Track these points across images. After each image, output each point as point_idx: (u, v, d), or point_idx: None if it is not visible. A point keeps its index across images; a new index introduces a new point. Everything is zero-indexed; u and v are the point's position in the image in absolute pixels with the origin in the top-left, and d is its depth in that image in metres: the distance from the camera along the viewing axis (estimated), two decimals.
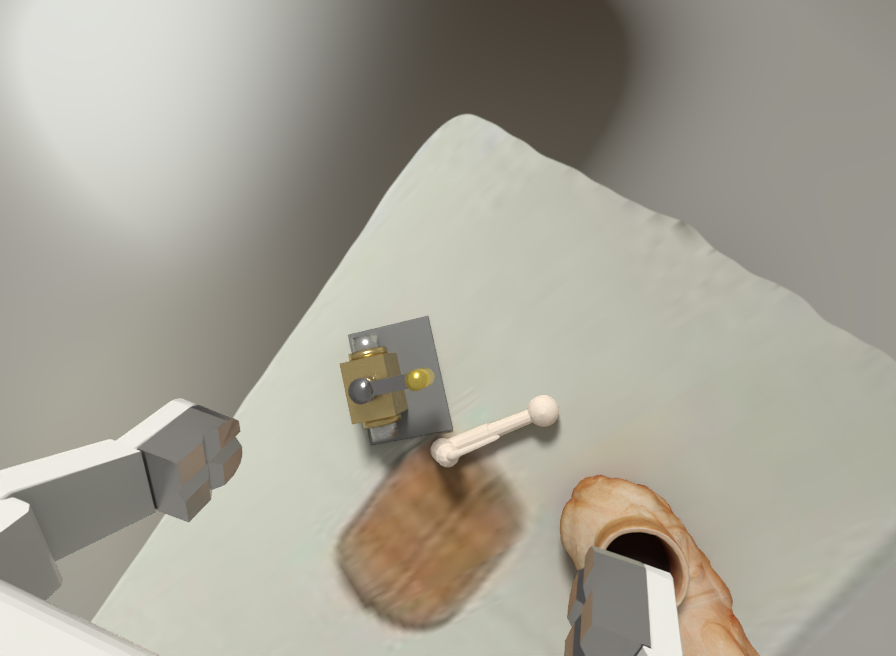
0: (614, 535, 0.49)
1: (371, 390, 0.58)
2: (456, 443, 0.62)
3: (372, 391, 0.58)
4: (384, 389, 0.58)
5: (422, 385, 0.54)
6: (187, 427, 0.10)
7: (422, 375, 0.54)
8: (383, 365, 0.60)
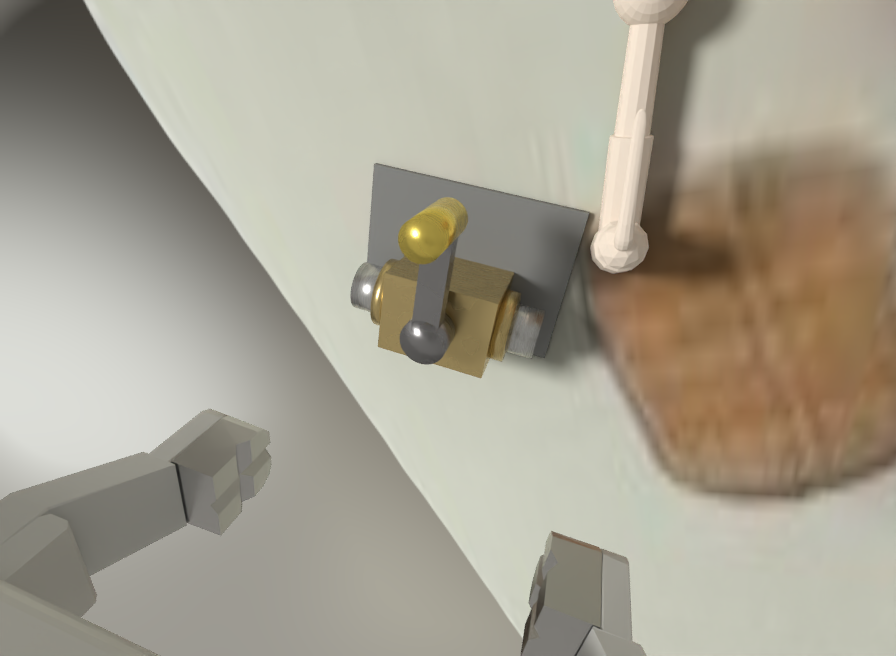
0: None
1: (427, 325, 0.30)
2: (615, 217, 0.30)
3: (429, 325, 0.30)
4: (435, 303, 0.29)
5: (435, 230, 0.23)
6: (219, 439, 0.10)
7: (415, 220, 0.24)
8: (404, 281, 0.32)
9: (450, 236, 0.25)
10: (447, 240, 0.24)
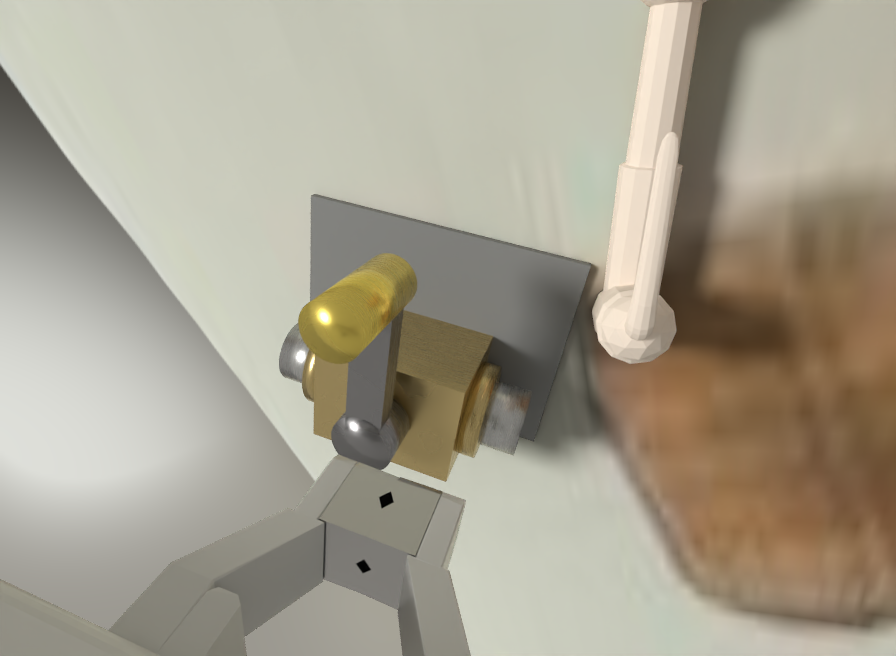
0: None
1: (366, 423, 0.22)
2: (626, 277, 0.21)
3: (369, 423, 0.22)
4: (374, 396, 0.21)
5: (350, 319, 0.15)
6: (360, 491, 0.09)
7: (319, 303, 0.15)
8: None
9: (380, 320, 0.17)
10: (373, 328, 0.16)
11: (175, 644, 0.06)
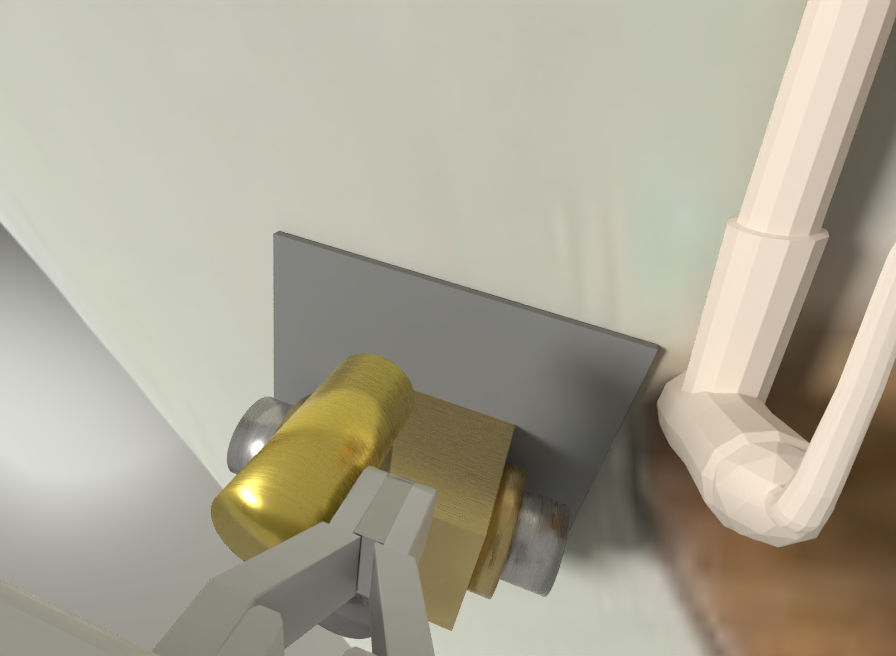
0: None
1: None
2: (726, 382, 0.15)
3: None
4: None
5: (298, 524, 0.08)
6: (394, 503, 0.09)
7: (243, 494, 0.09)
8: None
9: None
10: None
11: None
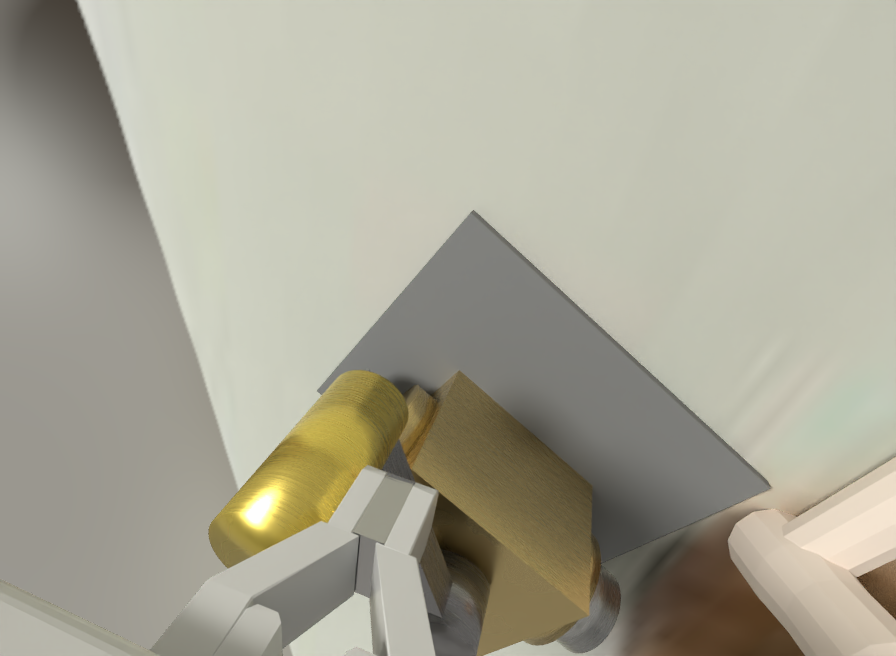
0: None
1: None
2: (845, 558, 0.16)
3: None
4: None
5: (275, 531, 0.09)
6: (392, 502, 0.09)
7: (223, 520, 0.09)
8: (441, 500, 0.15)
9: None
10: None
11: None
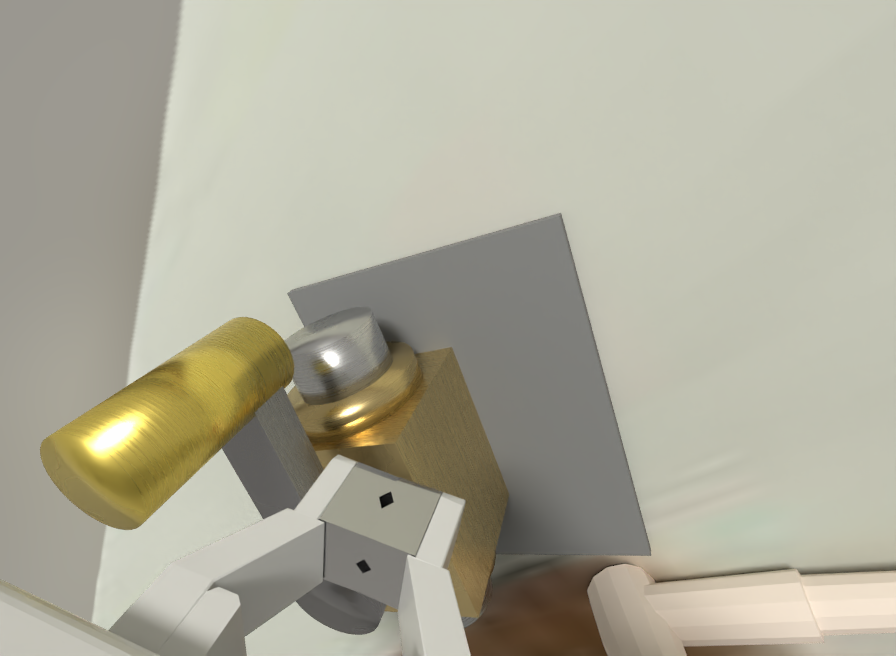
0: None
1: None
2: (684, 632, 0.19)
3: None
4: None
5: (93, 452, 0.09)
6: (360, 491, 0.09)
7: (49, 444, 0.09)
8: None
9: (186, 428, 0.10)
10: (167, 448, 0.09)
11: (175, 645, 0.06)
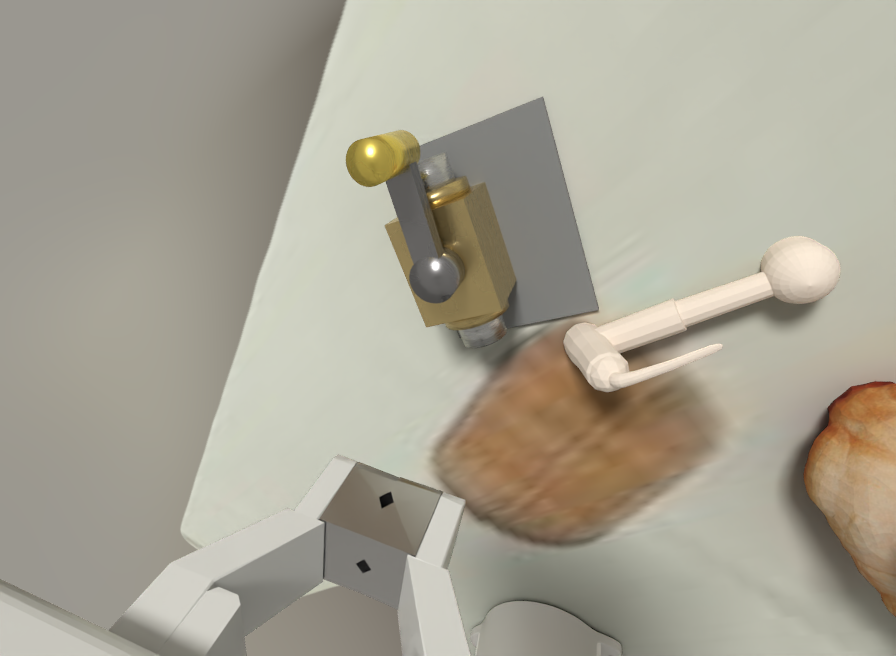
0: None
1: (428, 259, 0.30)
2: (614, 339, 0.35)
3: (429, 258, 0.30)
4: (423, 233, 0.29)
5: (373, 144, 0.24)
6: (360, 491, 0.09)
7: (353, 146, 0.25)
8: (467, 222, 0.31)
9: (395, 150, 0.26)
10: (391, 152, 0.25)
11: (176, 644, 0.06)
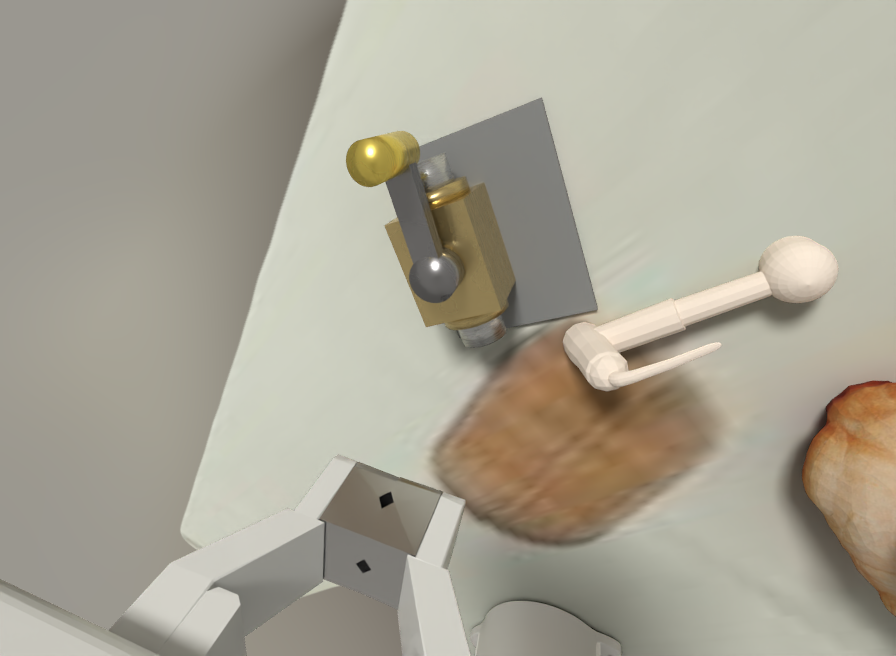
0: None
1: (427, 259, 0.30)
2: (614, 339, 0.35)
3: (429, 258, 0.30)
4: (423, 233, 0.29)
5: (373, 145, 0.25)
6: (360, 491, 0.09)
7: (353, 146, 0.25)
8: (467, 222, 0.31)
9: (395, 150, 0.26)
10: (391, 153, 0.25)
11: (175, 645, 0.06)
